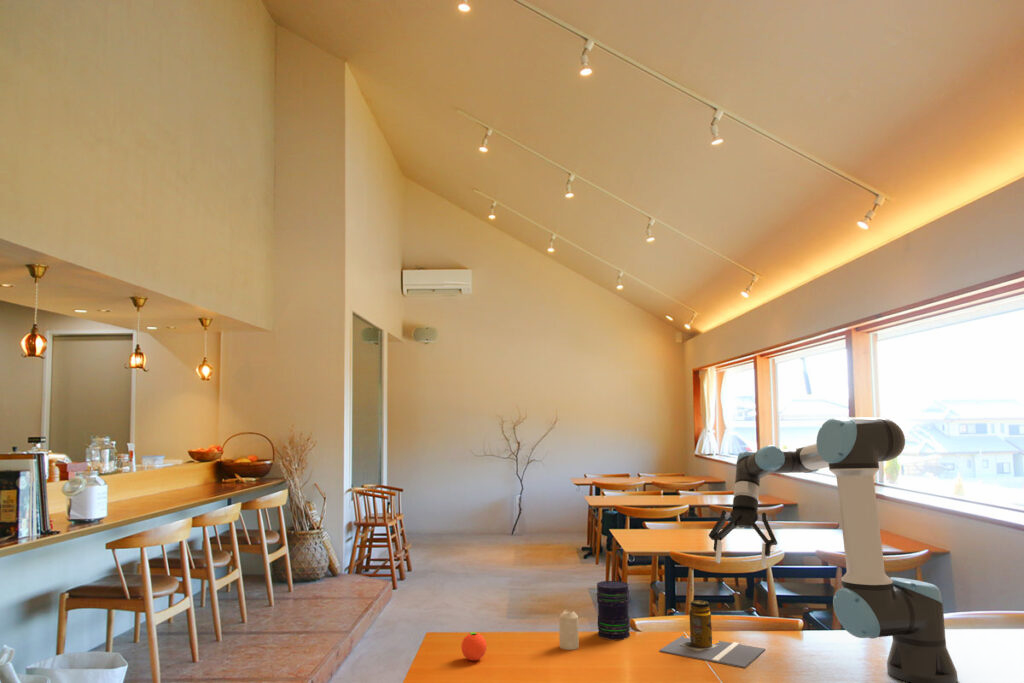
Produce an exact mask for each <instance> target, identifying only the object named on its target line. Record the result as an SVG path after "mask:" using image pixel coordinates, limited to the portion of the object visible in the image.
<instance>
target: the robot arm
mask: <svg viewBox="0 0 1024 683" xmlns="http://www.w3.org/2000/svg"><path fill="white" fill-rule="evenodd" d="M904 434H905V433H904V431H903V430H902V428H901V427H900V426H899V425H898V424H897V423H896V422H894V421H893V420H891V419H889V418H885V417H879V416H873V417H871V416H870V417H869V416H868V417H866V416H864V417H862V416H860V417H859V416H858V417H857V416H842V417H841V416H840V417H832V418H830V419H829V418H828V420H826V421H825V422H823V424H822V425H821V427H820V428H819V430H818V432H817V436H816V443H813V444H810V445H806V446H803V447H800V448H799V447H798V448H780V447H777V446H775V445H774V444H772V445H771V444H769V445H766V446H763V447H762V448H759V449H758V450H757V451H756V452H755V451H749V450H747V451H741V452H740V453H738V455H737V461H736V465H735V466H736V467H735V478H734V480H735V481H734V490H733V499H732V510H731V511H730V512H728V511H726V510H723V509H722V510H721V513H720V516H719V519H718V520H717V522H716V523H715V524H714V526H713V528H712V529H711V531H710V532H709V534H708V536H709V538H710V539H711V541H713V551H714V552H715V559H714V560H715V562H716V563H717V564H721V562H722V561H721V559H722V550H723V542H722V540H724V539H725V538H726V537H727V535H728V534H730V533H731V531H733V530H734V529H736V528H737V527H739V528H741V529H742V528H745V529H746V528H747V529H750V528H753V530H754V531H755V532H756V533H757V534H758V536H759V537H760V538H761V540H762V541H763V542H764V543H762V544H761V545H762V546H761V557H760V558H761V560H760V565H761V567H762V568H764V569H766V568H767V557H770V556H771V549H772V548H771V547H772V546H777V545H778V541H777V538H776V537H775V534H774V533H773V530H772V527H771V525H770V523H769V517H768V515H767V513H766V512H762V513H759V514H758V509H759V508H758V507H759V496H760V481H761V479H762V478H764V477H765V476H767V475H769V474H790V473H794V474H795V473H797V474H798V473H804V474H808V473H809V474H810V473H816V472H817V471H819V470H820V469H825V468H829V469H828V470H829V471H830V472H831V473H833V474H834V476H835V477H836V483H837V493H838V503H839V510H840V512H839V513H840V521H841V530H842V539H843V548H844V549H843V550H844V556H845V557H844V559H845V567H846V568H845V569H846V572H845V574H843V576H842V577H840V580H841V588H839V589H837V590H836V591H835V593H834V595H833V598H832V605H833V610H834V614H835V617H836V618H837V620H838V622H839V624H840V625H841V626H842V627H843V629H844V630H845V631H846V632H848V634H850V635H851V636H853V637H855V638H859V639H877V638H883V637H884V638H885V637H892V642H891V646H890V648H889V653H888V657H887V661H886V668H887V673H888V675H890V676H892V677H893V678H895V679H898V680H899V679H900V681H902V680H903V682H905V681H906V682H905V683H909V682H911V683H956V682H957V681H958V682H959V680H958V677H959V676H958V671H957V668H956V666H955V664H954V661H953V660H952V656H951V655H950V652H949V651H948V647H947V641H946V629H945V627H946V626H945V615H944V602H943V599H942V593H941V590H940V588H939V587H938V586H937V585H936V584H934V583H930V582H925V581H922V580H917V579H910V578H903V577H894V576H893V577H892V576H891V577H890V576H888V575H887V574H886V571H885V570H886V569H885V563H884V562H885V561H884V555H883V554H884V553H883V544H882V538H881V537H882V536H881V528H880V520H879V519H880V518H879V513H878V512H879V511H878V504H877V496H876V488H875V479H874V476H875V474H876V473H877V472H878V471H880V465H879V462H882V463H883V462H888V461H892V460H894V459H896V458H897V457H898V456H900V455H901V453H902V452H903V450H904V449H905V446H906V437H905V435H904ZM729 518H731V519H730V521H729V522H728V523H727V524H726V525H725V523H726V522H727V520H729ZM758 520H760V521H761V522H763V525H764V527H765V529H766V532H767V533H768V534H767V535H768V536H769V538H770V539H768V538H767V536H766V535H765V534H764V533H763V531H762V530H761V529H760V527H759V526H758V525H757V523H756V522H758ZM724 525H725V526H724Z"/></svg>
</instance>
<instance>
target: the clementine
mask: <svg viewBox="0 0 1024 683" xmlns="http://www.w3.org/2000/svg"><path fill="white" fill-rule="evenodd" d="M487 645H488V644H487V641H486V639H485V637H484V636H483V635H481V634H480V633H477V632H474V631H473V632H469V633H468V634H467V635H466V636H464V638H463V639H462V642H461V646H460V647H461V653H462V654H463V656H464V657H465V658H466V659H467V660H469V661H478V660H480V659H482V658H483V657H484V656H485V655H486V651H487Z"/></svg>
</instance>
